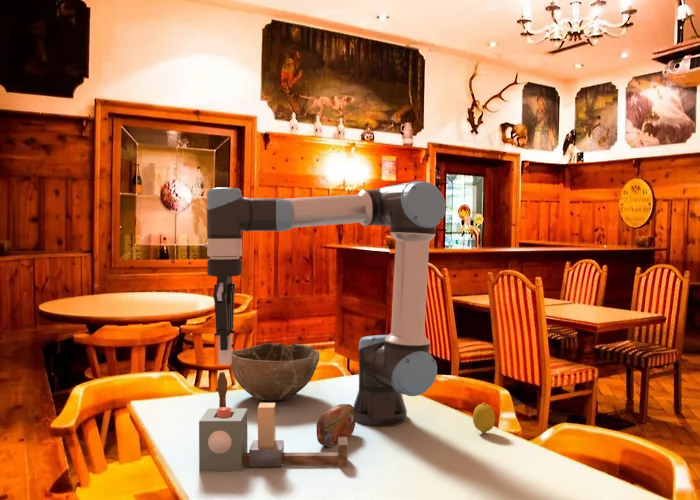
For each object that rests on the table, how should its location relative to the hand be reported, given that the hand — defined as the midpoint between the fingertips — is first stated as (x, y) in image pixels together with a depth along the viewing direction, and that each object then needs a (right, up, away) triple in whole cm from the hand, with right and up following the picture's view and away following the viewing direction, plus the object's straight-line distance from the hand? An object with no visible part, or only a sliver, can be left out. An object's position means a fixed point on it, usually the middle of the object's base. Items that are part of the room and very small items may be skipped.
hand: (225, 363), depth 131 cm
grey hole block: (0, -22, 0) cm, 22 cm away
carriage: (+9, -22, +1) cm, 24 cm away
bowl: (+5, -21, +52) cm, 56 cm away
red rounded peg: (0, -18, 0) cm, 18 cm away
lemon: (+62, -22, +21) cm, 69 cm away
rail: (+15, -22, +1) cm, 27 cm away
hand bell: (-5, -22, +19) cm, 30 cm away
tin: (+24, -22, +15) cm, 36 cm away
